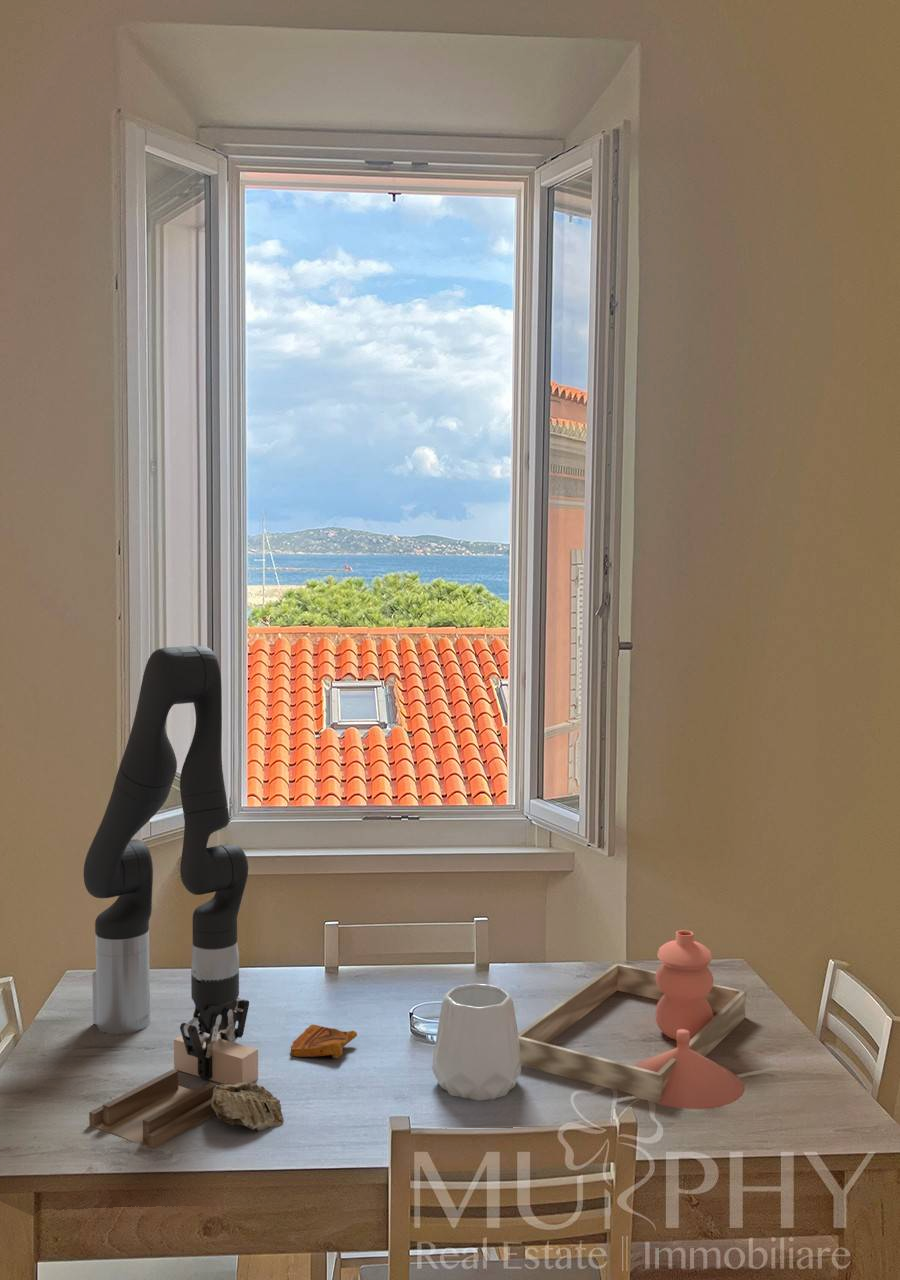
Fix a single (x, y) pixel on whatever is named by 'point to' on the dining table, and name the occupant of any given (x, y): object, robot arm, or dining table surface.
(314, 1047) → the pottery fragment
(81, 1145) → the dining table surface
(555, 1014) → the vessel tray frame
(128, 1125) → the tray
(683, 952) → the ceramic vessels
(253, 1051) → the peach rectangular block
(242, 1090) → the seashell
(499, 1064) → the vase
